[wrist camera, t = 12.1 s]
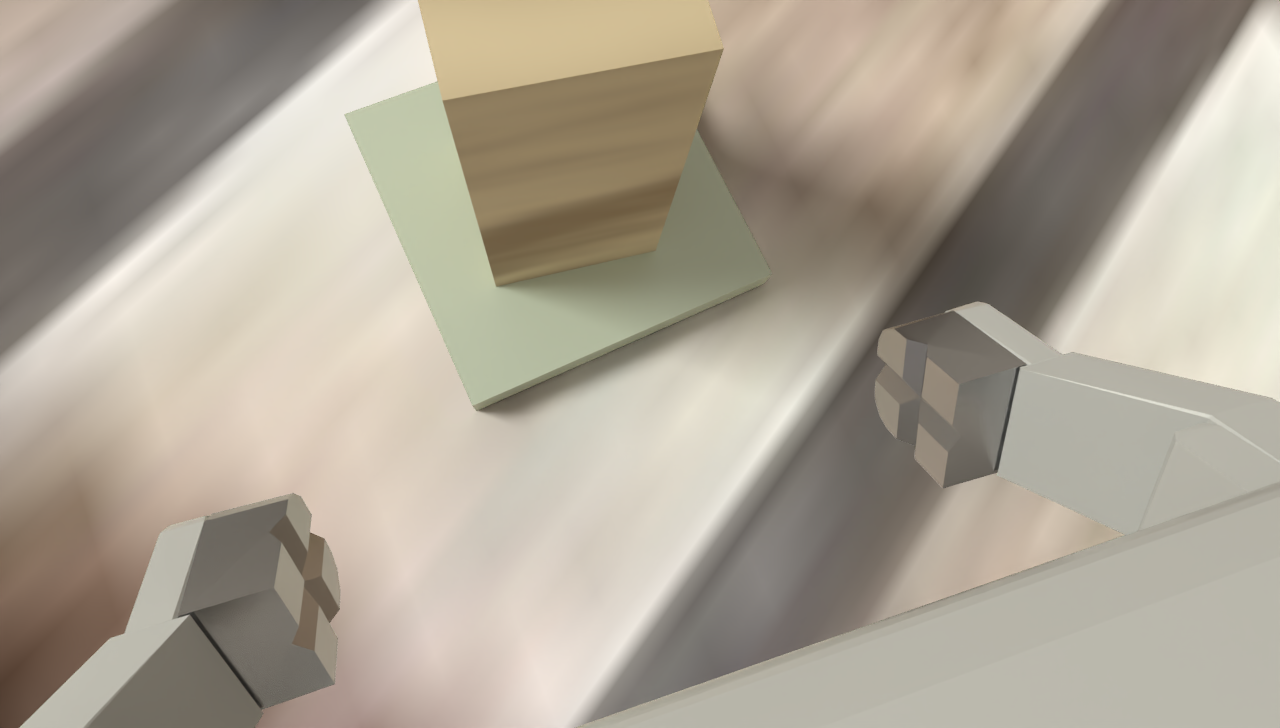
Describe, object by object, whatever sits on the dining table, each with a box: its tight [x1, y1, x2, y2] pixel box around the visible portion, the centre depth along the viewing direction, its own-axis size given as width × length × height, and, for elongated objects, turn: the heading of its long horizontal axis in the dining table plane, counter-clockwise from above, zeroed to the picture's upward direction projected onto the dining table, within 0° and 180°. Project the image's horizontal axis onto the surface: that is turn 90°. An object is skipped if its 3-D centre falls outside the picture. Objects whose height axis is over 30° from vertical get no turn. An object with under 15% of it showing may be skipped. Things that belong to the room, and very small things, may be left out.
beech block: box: [418, 0, 724, 287], centre depth 18 cm, size 5×5×10 cm
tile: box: [344, 81, 772, 411], centre depth 23 cm, size 10×10×1 cm
